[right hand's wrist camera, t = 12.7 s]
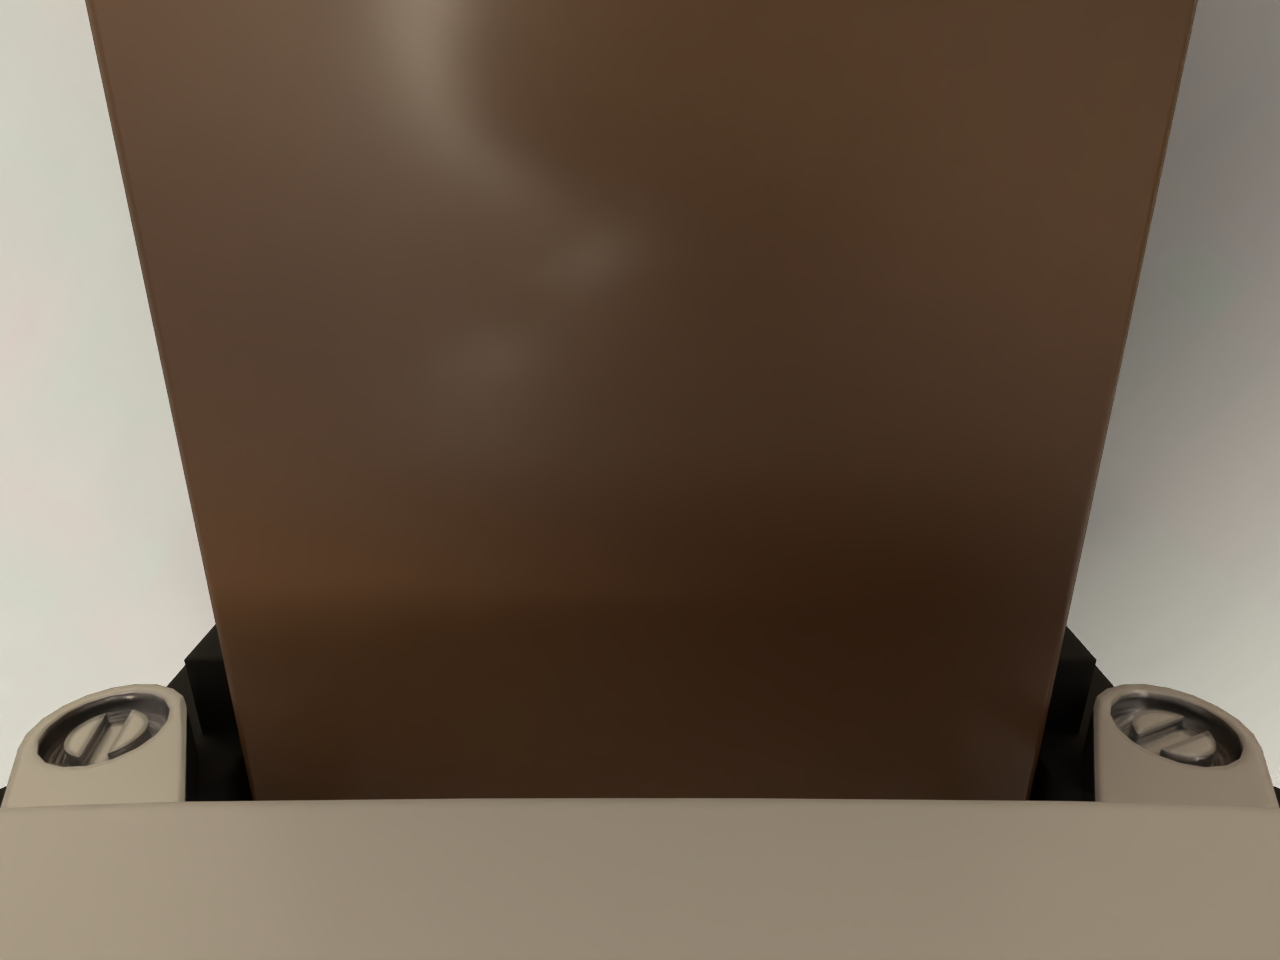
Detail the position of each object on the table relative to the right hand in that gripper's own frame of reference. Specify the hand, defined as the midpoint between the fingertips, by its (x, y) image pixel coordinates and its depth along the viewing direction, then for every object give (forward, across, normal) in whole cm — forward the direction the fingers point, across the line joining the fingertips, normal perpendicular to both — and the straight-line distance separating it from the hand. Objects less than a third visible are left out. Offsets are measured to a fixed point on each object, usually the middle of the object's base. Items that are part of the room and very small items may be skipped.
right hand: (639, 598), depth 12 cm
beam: (+2, 0, -32) cm, 33 cm away
